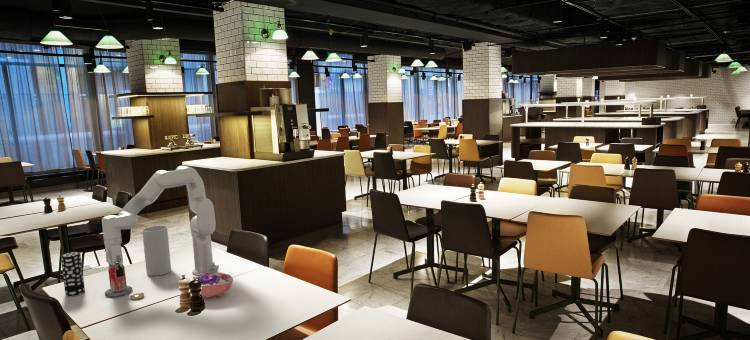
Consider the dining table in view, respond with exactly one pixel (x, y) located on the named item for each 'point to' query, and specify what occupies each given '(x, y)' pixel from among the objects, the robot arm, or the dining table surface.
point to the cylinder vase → (156, 250)
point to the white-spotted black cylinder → (72, 273)
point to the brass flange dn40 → (137, 296)
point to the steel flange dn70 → (118, 294)
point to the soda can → (116, 280)
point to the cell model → (215, 284)
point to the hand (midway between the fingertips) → (116, 274)
